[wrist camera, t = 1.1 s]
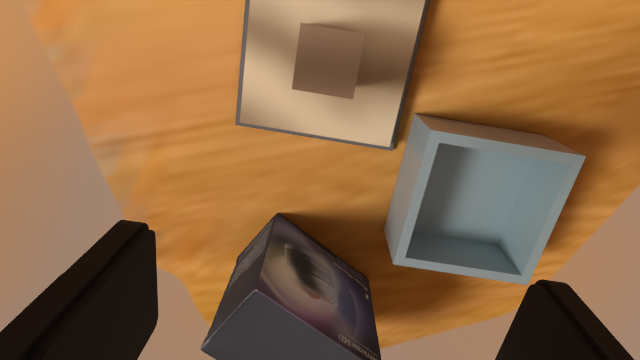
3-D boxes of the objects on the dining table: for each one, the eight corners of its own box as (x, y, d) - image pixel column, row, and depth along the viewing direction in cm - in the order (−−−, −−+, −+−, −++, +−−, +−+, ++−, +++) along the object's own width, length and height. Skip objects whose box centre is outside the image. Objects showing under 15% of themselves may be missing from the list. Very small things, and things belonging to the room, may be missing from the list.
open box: (414, 113, 28) (431, 130, 23) (544, 135, 28) (586, 156, 24) (383, 229, 32) (393, 264, 27) (499, 247, 32) (527, 285, 27)
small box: (373, 276, 33) (391, 378, 24) (326, 320, 35) (325, 430, 26) (279, 207, 31) (256, 289, 21) (234, 258, 33) (195, 354, 23)
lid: (257, -50, 24) (235, -74, 18) (426, -19, 24) (455, -33, 19) (242, 119, 28) (220, 141, 22) (387, 143, 28) (401, 171, 23)
